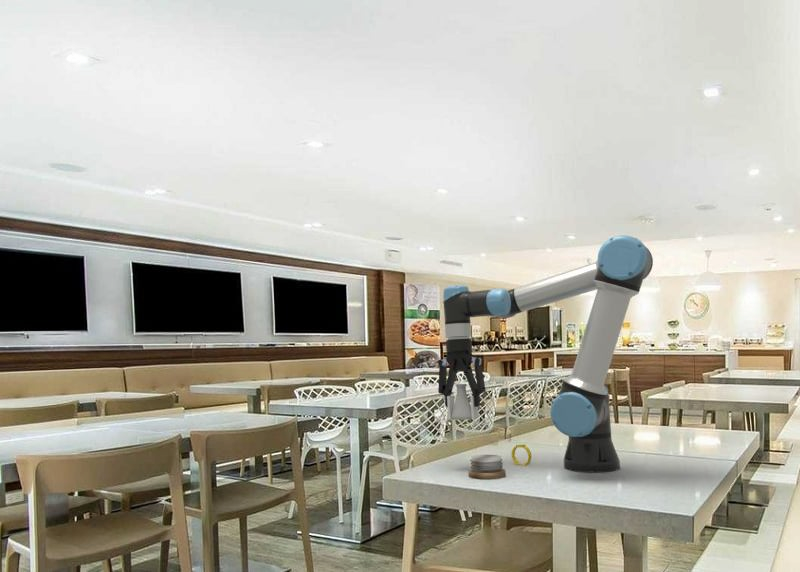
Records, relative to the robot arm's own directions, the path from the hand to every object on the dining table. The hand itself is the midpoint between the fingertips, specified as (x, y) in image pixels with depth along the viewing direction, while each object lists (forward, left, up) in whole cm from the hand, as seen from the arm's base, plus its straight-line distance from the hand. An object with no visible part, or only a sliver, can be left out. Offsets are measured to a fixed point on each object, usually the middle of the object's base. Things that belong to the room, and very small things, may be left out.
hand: (463, 418), depth 187 cm
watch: (-12, -14, -15) cm, 23 cm away
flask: (0, 0, 0) cm, 0 cm away
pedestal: (-10, +6, -15) cm, 18 cm away
